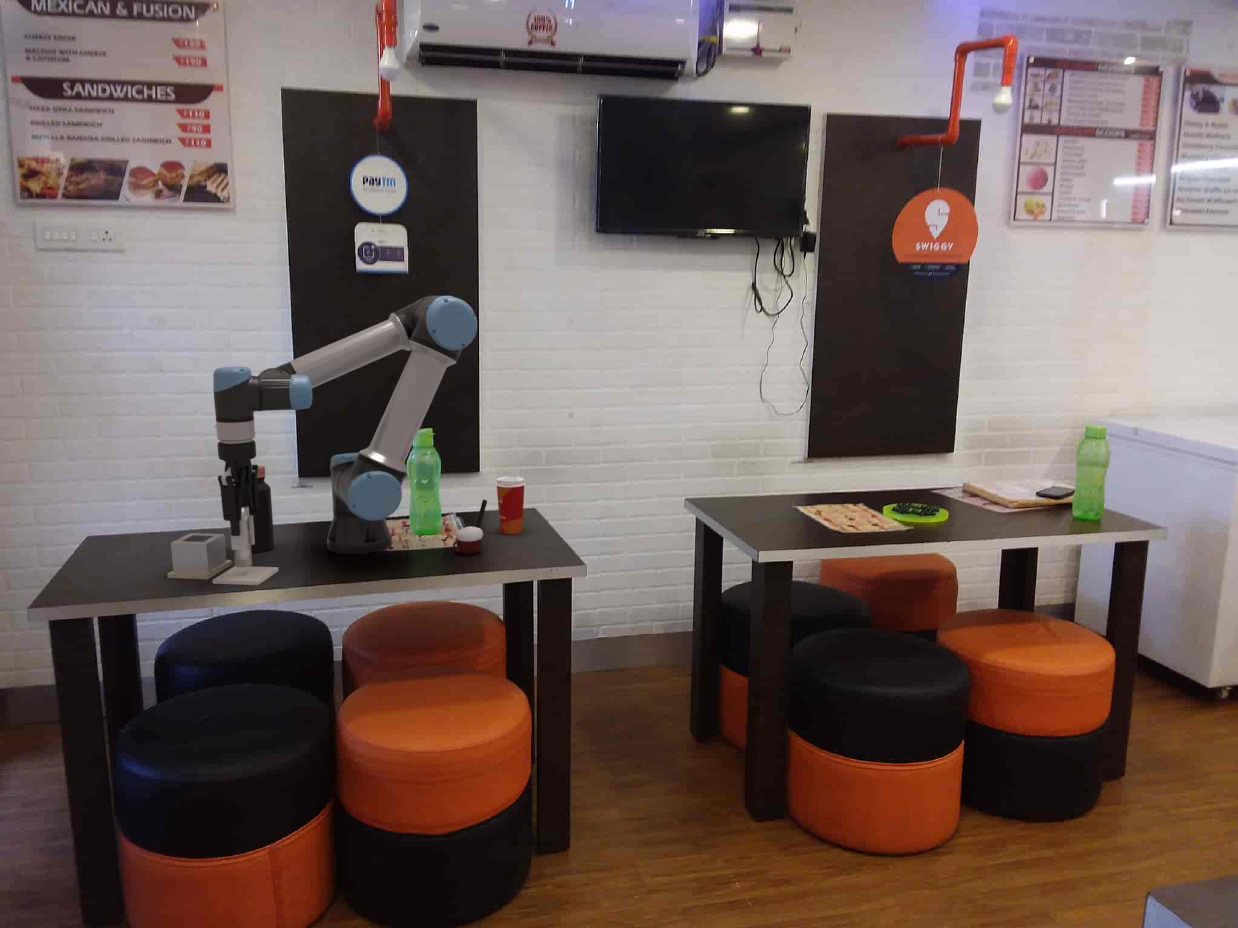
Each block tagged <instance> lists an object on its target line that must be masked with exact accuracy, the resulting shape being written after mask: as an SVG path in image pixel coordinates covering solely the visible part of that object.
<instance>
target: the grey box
mask: <svg viewBox="0 0 1238 928" xmlns="http://www.w3.org/2000/svg"><path fill="white" fill-rule="evenodd" d="M225 536H226V535H225V534H224V533H196V532H195V533H194V532H189V533H188V534H186V535H183V536H181V537H180V538H178V539H176V540H174V541H172V542H170V547H171V548H170V549H171V558H172V559H171V560H172V561H171V563H172V570H171V571H169V572H167V573H166V575H167V579H180V580H181V579H184V580H205V581H206V580H209V579H211V578H213V577H214V576H215V575H218V574H219V573H220V572H221V573H222V571H224V570H225V569H228V567H230V566H232V565H233V560H232V559H227V552H226V549H227V548H226V539H225V538H226V537H225Z"/></svg>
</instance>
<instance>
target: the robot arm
mask: <svg viewBox="0 0 1238 928" xmlns="http://www.w3.org/2000/svg"><path fill="white" fill-rule="evenodd" d="M477 331H478V321H477V316H476V314H475V311H474V310H473V308H472V307H471V306H470V305H469V304H468V303H467V302H466V301H465V300H463V299H461V298H459V297H455V296H452V295H435V294H434V295H428V296H425V297H422V298H420V299H418V300H417V301H415V302H413V303H411V304H408V305H407V306H404V307H402V308H401V309H399V310H396V311H394V312H392V313H390V315H389V318H388V319H387V320H384V321H382V322H379V323H377V324H375V325H372V326H370V327H368V328H365V329H363V330H361V331H359V332H356V333H353V334H351V335H349V336H346V337H344V338H342V339H340V340H336V341H334V342H332V343H330V344H327V345H325V346H323V347H321V348H318V349H316V350H314V351H311V352H309V353H307V354H304V355H302V356H299V357H297V358H294V359H292V360H290V361H288V362H286V363H283V364H281V365H279V366H277V367H269V368H266V369H263V370H262V371H261V372H259V374H258V375H253V373H252V370H251V368H249V367H246V366H221V367H218V368H216V369H215V370H214V372H213V373H212V374H213V375H212V377H213V378H212V379H213V382H212V383H213V389H212V391H213V400H214V411H215V412H214V413H215V414H214V415H215V421H216V424H215V425H214V427H215V429H216V437H217V440H218V442H217V444H216V445H217V455H218V457H217V458H218V459H219V460H221V461H223V462H225V464H224V474H223V475H218V476H217V482H218V485H219V489H220V497H221V499H220V500H221V507H222V519H223V521H226V522H229V526H230V527H229V528H230V543H231V550H232V551H234V550H245V549H246V547H245V531H244V520H241V511H242V505H248V506H249V519H250V535H251V545H254V544H255V538H254V523H253V514H257V513H258V510H255V509H258V488H257V472H258V466H259V465H258V464H252V461H251V460H253V459H255V458H256V457H257V444H256V441H255V440H254V439H255V438H256V427H255V416H254V415H255V413H254V412H268V411H273V412H274V411H292V410H293V411H299V410H306V409H310V407H311V406H312V404H313V389H314V388H315V387H318V386H320V385H322V384H325V383H327V382H330V381H332V380H333V379H336V378H337V379H338V378H339V377H342V376H343V375H346V374H347V373H350V372H352V371H355V370H357V369H360V368H362V367H364V366H366V365H368V364H370V363H374V362H376V361H378V360H381V359H382V358H385V357H387V356H389V355H391V354H394V353H396V352H398V351H400V350H404V351H407V352H408V351H411V352H410V355H409V358H408V359H407V361H406V363H405V365H404V368H403V371H402V373H401V375H400V377H399V380H398V382H397V384H396V386H395V388H394V391H393V392H392V395H391V398H390V399H389V402H388V404H387V406H386V408H385V411H384V413H383V415H382V417H381V419H380V422H379V424H378V425H377V428H376V431H375V433H374V436H373V437H372V440H371V442H370V444H369V446H368V447H367V448H364V449H361V450H359V452H350V453H341V454H335V455H332V457H331V458H330V466H329V469H330V477H331V478H330V479H331V495H332V496H331V497H332V512H333V516H332V521H331V524H330V528H329V531H328V535H327V538H326V539H327V540H326V541H327V542H326V545H327V546H326V547H327V550H328V551H330V552H333V553H335V554H343V555H364V554H371V553H377V552H381V551H384V550H386V549H388V548H390V547H391V546H392V543H393V542H392V534H391V531H390V528H389V526H388V523H387V520H386V519H387V518H388V517H391V515H393V514H394V513H395V512H396V511H397V510H398V509H399V507H400V504H401V502H402V499H403V498H402V497H403V488H402V485H403V484H404V481H405V478H406V477H407V474H408V469H407V466H406V463H405V462H406V460H407V457H408V455H409V453H410V450H411V449H412V445H413V444H414V442H415V439H416V437H417V435H418V433H419V430H420V428H421V426H422V424H423V423H424V422H423V421H424V419H425V417H426V415H427V412H428V411H429V408H430V406H431V404H432V402H433V399H434V397H435V395H436V392H437V390H438V388H439V386H440V383H441V381H442V379H443V377H444V375H445V372H446V371H447V368H449V367H450V366H452V365H455V364H457V362H458V359H459V358H460V355H461V353H462V351H463V349H464V348H466V347H468V346H469V345H470V344H471V343H472V342H473V341H474V338H475V336H476V335H477Z"/></svg>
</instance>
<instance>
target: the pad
mask: <svg viewBox="0 0 1238 928" xmlns="http://www.w3.org/2000/svg"><path fill="white" fill-rule="evenodd" d="M278 572H279V567H277V566H276V567H274V566H252V565H251V566H248V567H235V565H234V566H232V567H231V568H230V569H228V570H227V571H225V572H223V573H221V574H220V575H218V576H216V577H215V578H214V579H212V584H214V585H215V584H217V585H218V584H219V585H237V586H238V585H240V586H241V585H244V586H259V585H261V584H262V583H263V582H265V581H266V580H267V579H269V578H271V577H272V576H273V575H275V574H277V573H278Z"/></svg>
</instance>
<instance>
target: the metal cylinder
mask: <svg viewBox="0 0 1238 928" xmlns="http://www.w3.org/2000/svg"><path fill="white" fill-rule="evenodd" d="M241 520H244V531H245V547H246V549H245V550H233V558H234V559H233V562H234V563H233V564H234V566H235V567H248V566H251V567H252V565H253V554H252V553H253V552H252V550H251V535H250V519H249V506H248V505H242V511H241Z"/></svg>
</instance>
